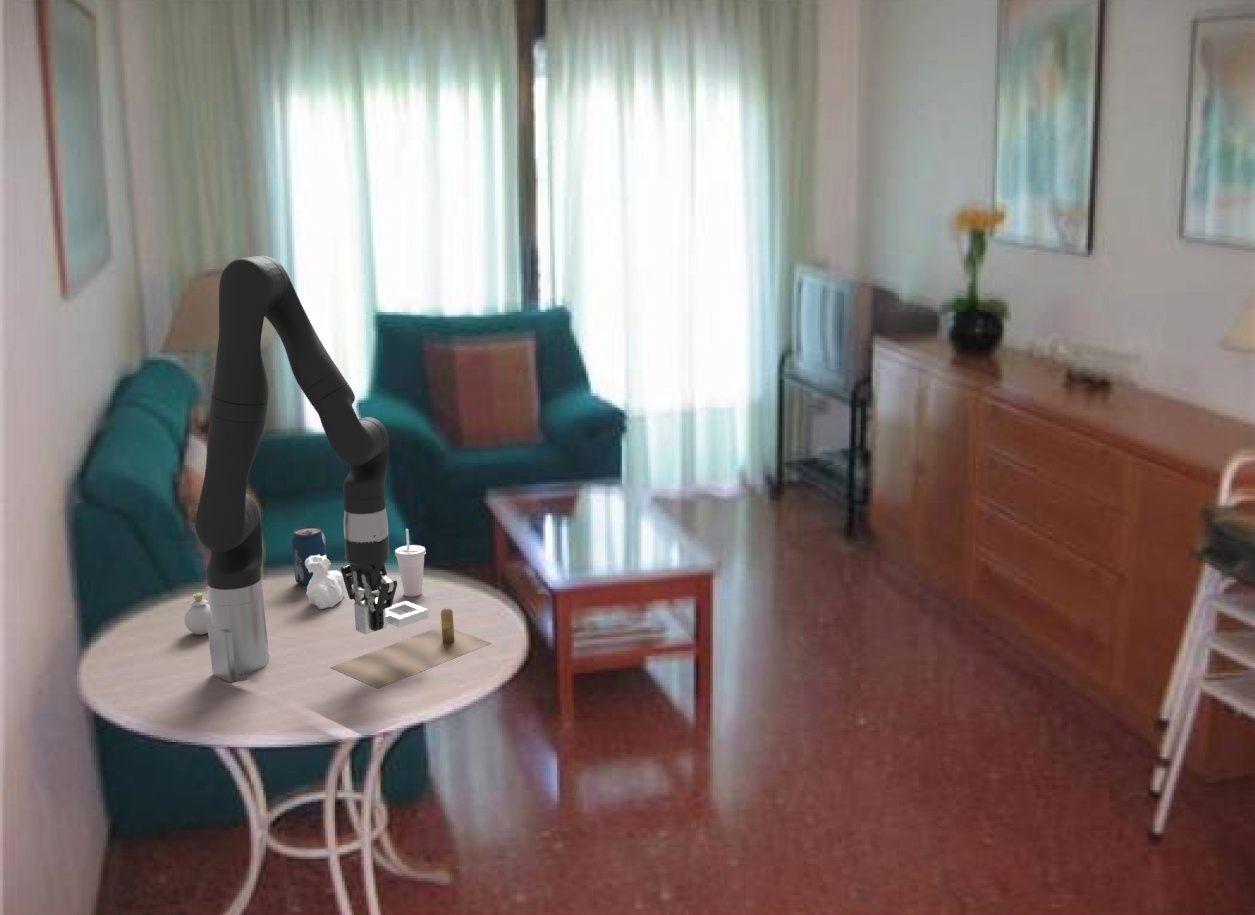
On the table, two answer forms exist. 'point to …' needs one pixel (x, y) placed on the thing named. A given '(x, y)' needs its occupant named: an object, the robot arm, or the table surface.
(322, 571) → the white tied bag
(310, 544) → the soda can
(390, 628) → the table surface
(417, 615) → the steel link
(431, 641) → the board
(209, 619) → the white potion bottle
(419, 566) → the smoothie
